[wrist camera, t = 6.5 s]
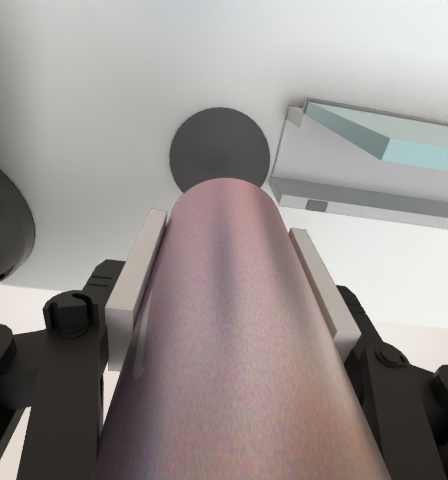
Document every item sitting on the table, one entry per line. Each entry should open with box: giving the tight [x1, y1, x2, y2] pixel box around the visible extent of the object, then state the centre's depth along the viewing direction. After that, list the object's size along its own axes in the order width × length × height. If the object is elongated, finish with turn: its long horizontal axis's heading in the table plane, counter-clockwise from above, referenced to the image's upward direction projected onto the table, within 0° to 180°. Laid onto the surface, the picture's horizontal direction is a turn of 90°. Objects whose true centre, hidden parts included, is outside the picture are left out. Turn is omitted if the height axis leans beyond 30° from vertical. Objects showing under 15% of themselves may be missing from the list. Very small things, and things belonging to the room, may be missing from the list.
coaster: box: [170, 108, 270, 193], centre depth 27 cm, size 9×9×1 cm
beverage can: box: [91, 178, 392, 480], centre depth 10 cm, size 6×6×15 cm
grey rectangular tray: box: [269, 106, 448, 229], centre depth 25 cm, size 20×7×5 cm, turn 81°
